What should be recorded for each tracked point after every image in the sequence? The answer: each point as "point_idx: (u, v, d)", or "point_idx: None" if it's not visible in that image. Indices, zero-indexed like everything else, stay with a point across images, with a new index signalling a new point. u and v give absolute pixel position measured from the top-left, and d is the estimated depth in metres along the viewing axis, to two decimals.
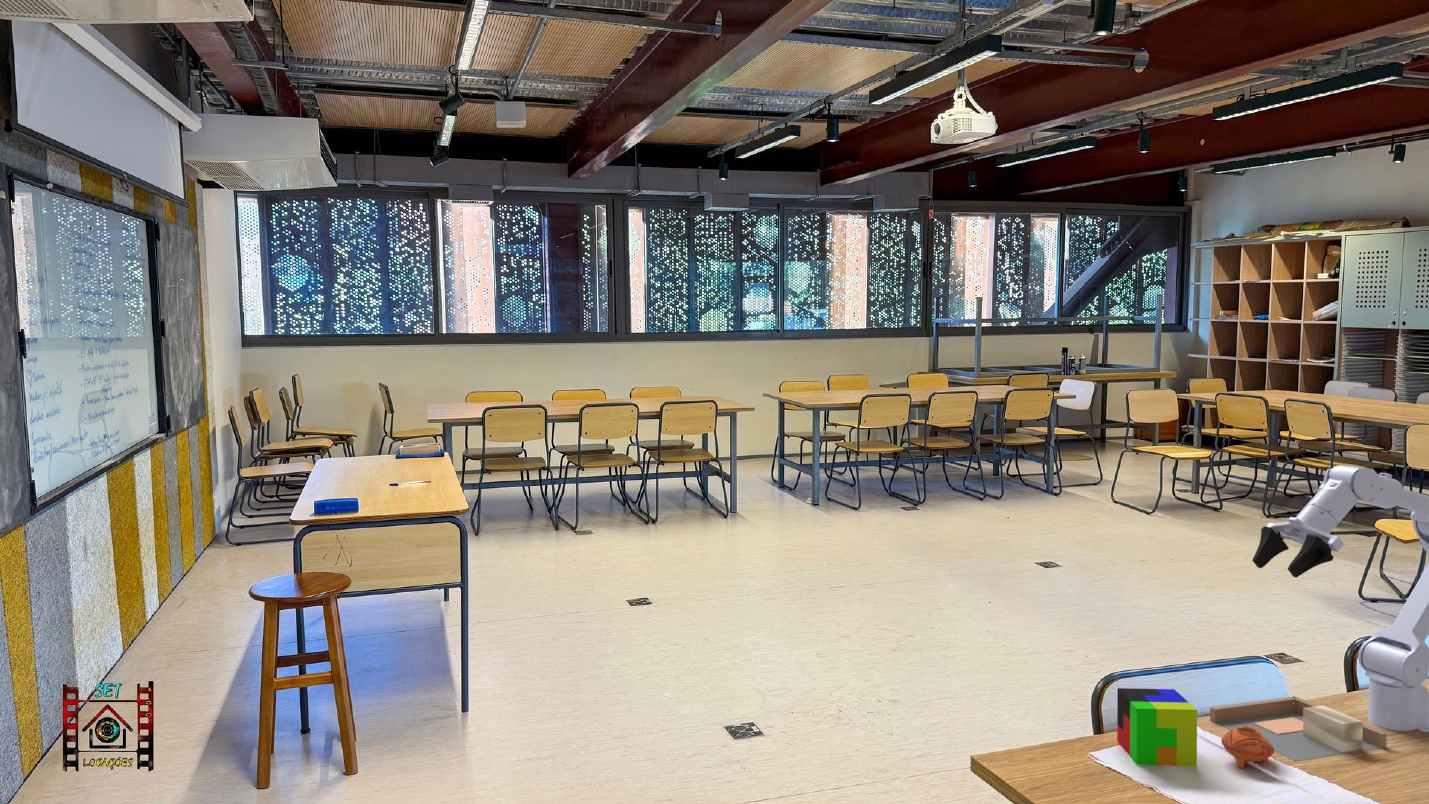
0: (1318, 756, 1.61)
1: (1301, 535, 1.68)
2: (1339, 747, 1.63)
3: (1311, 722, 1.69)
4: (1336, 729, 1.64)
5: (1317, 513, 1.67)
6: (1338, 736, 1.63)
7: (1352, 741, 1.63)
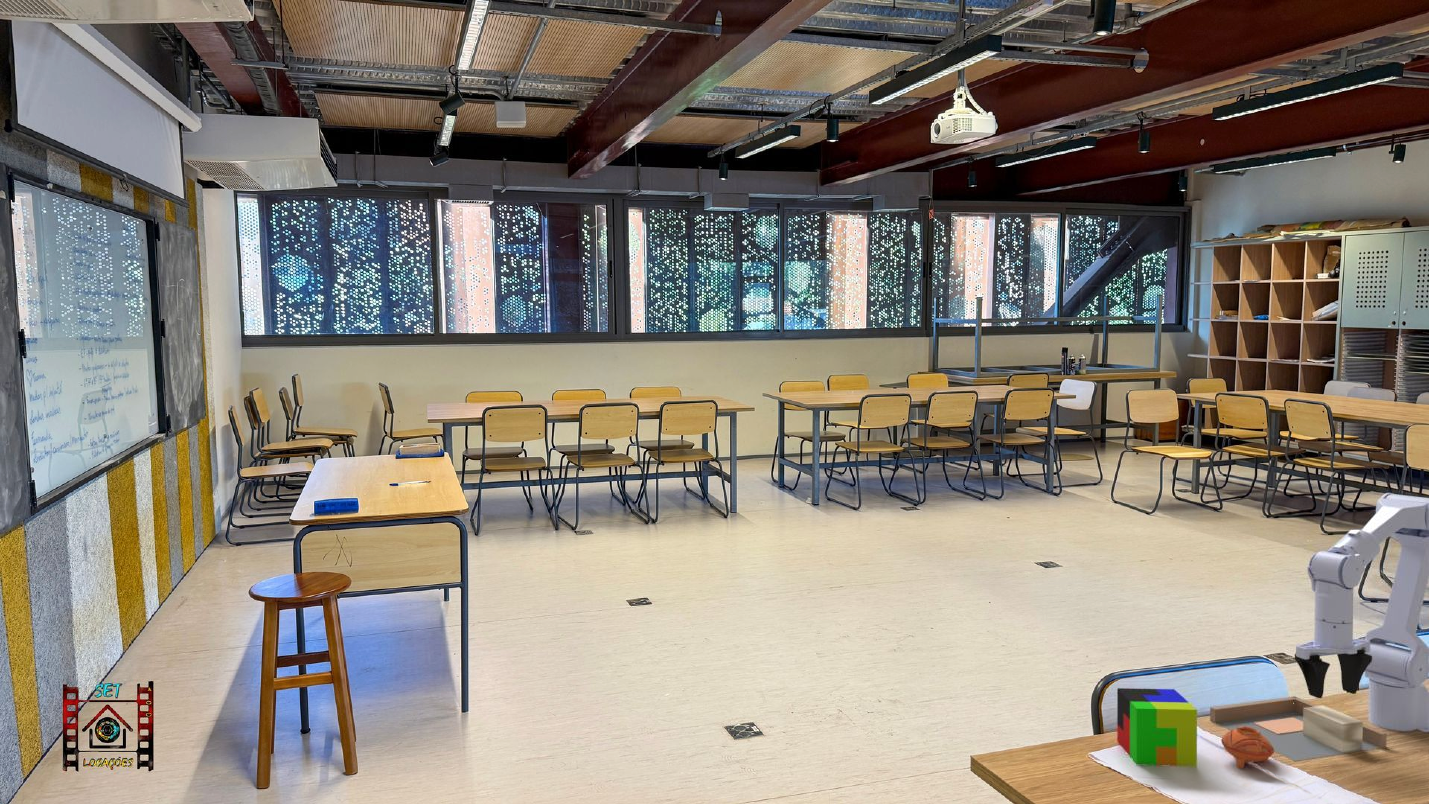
0: (1318, 756, 1.61)
1: None
2: (1339, 747, 1.63)
3: (1311, 722, 1.69)
4: (1336, 729, 1.64)
5: (1352, 629, 1.64)
6: (1338, 736, 1.63)
7: (1352, 741, 1.63)
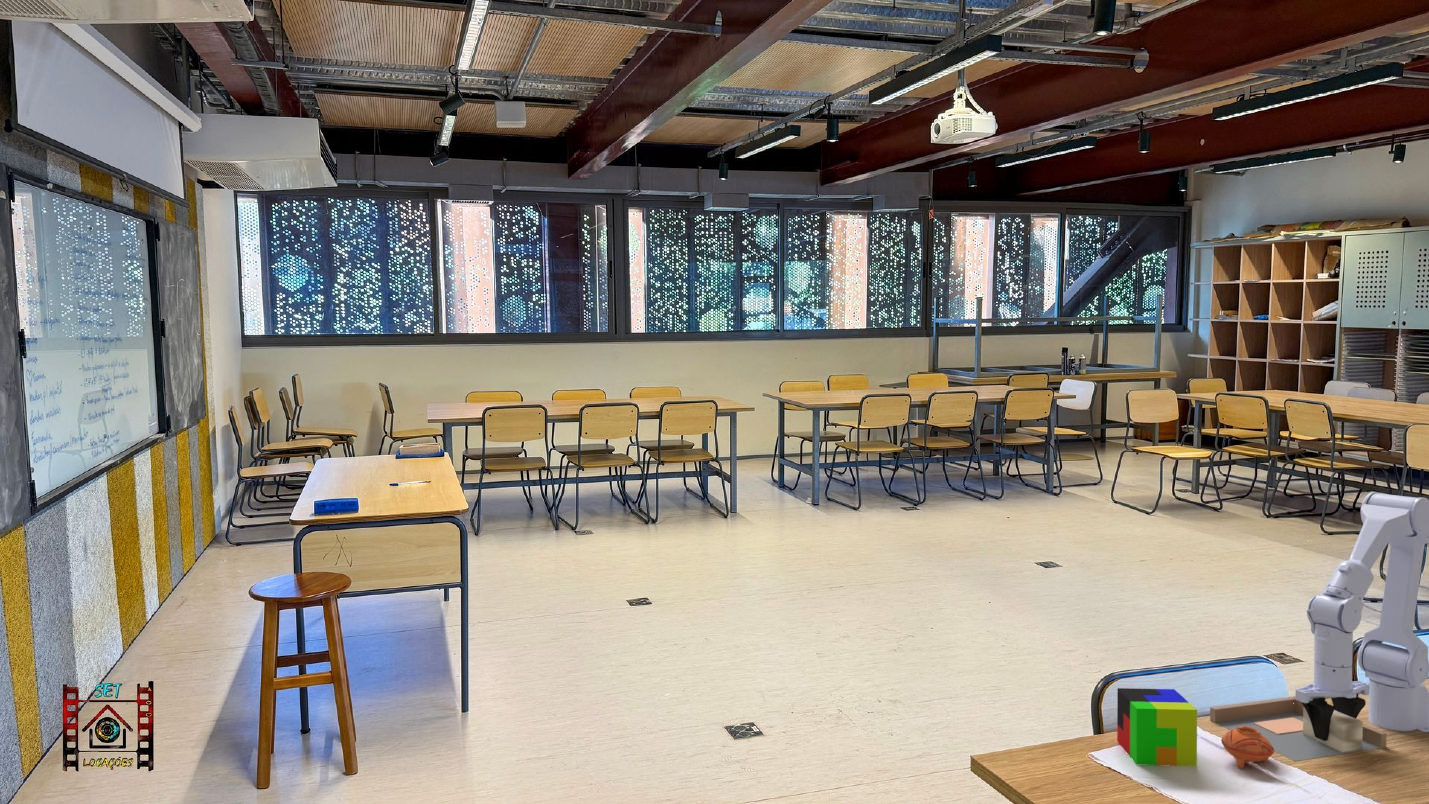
0: (1318, 756, 1.61)
1: None
2: (1339, 747, 1.63)
3: None
4: (1336, 729, 1.64)
5: None
6: (1338, 736, 1.63)
7: (1352, 741, 1.63)
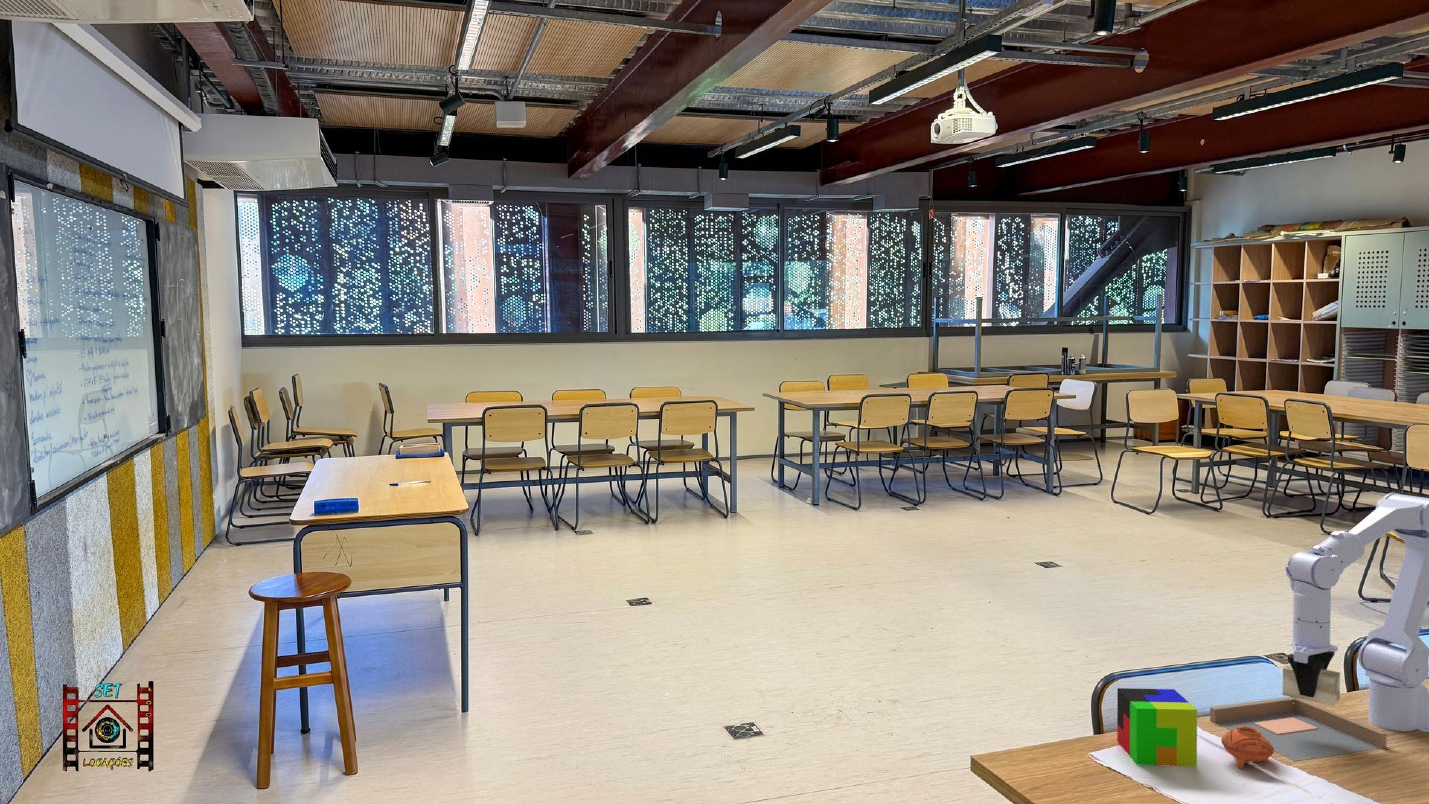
0: (1318, 756, 1.61)
1: None
2: (1329, 702, 1.66)
3: (1293, 681, 1.70)
4: (1326, 684, 1.66)
5: None
6: (1328, 691, 1.66)
7: (1336, 693, 1.67)
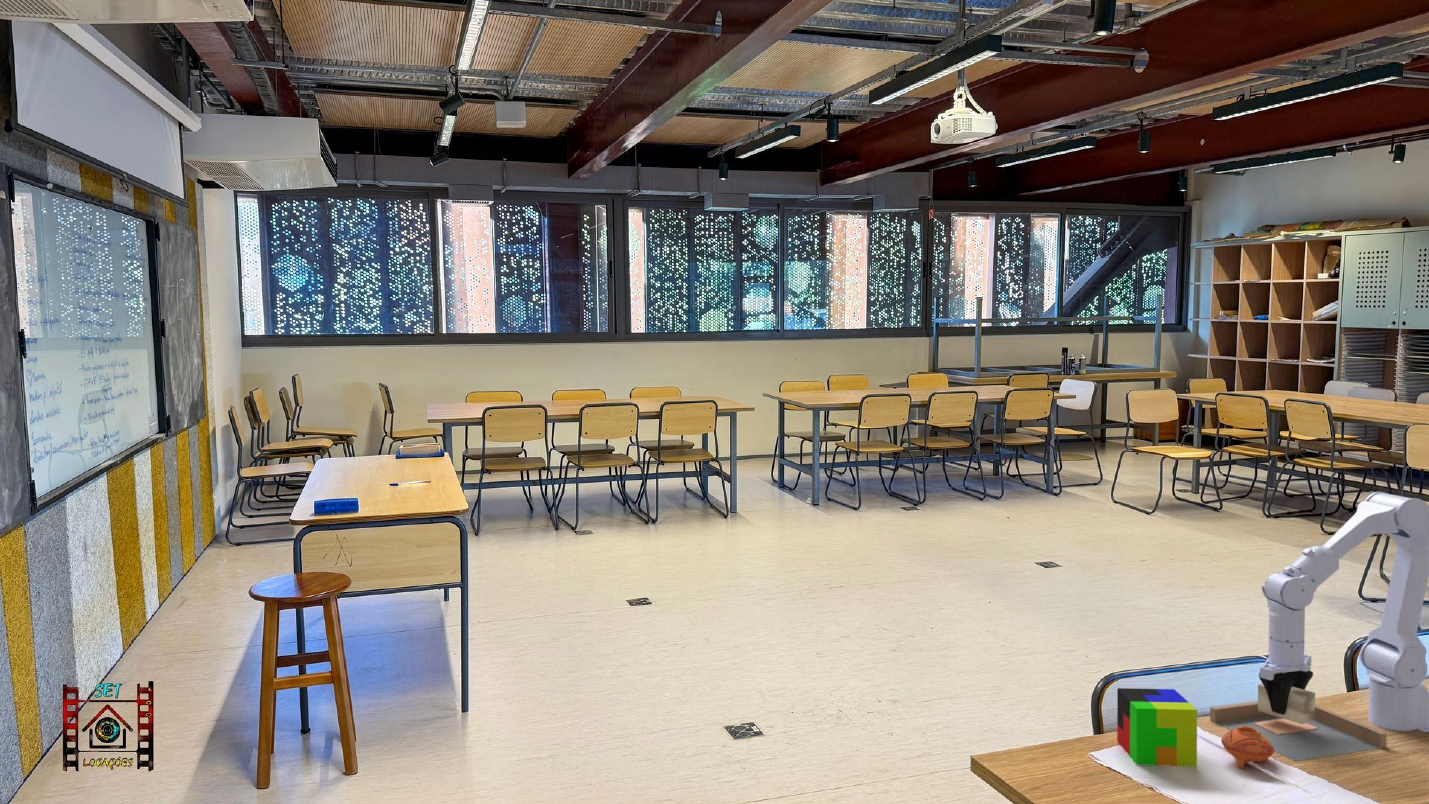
0: (1318, 756, 1.61)
1: None
2: (1298, 720, 1.70)
3: (1267, 698, 1.75)
4: (1296, 703, 1.70)
5: None
6: (1298, 709, 1.70)
7: (1308, 712, 1.71)
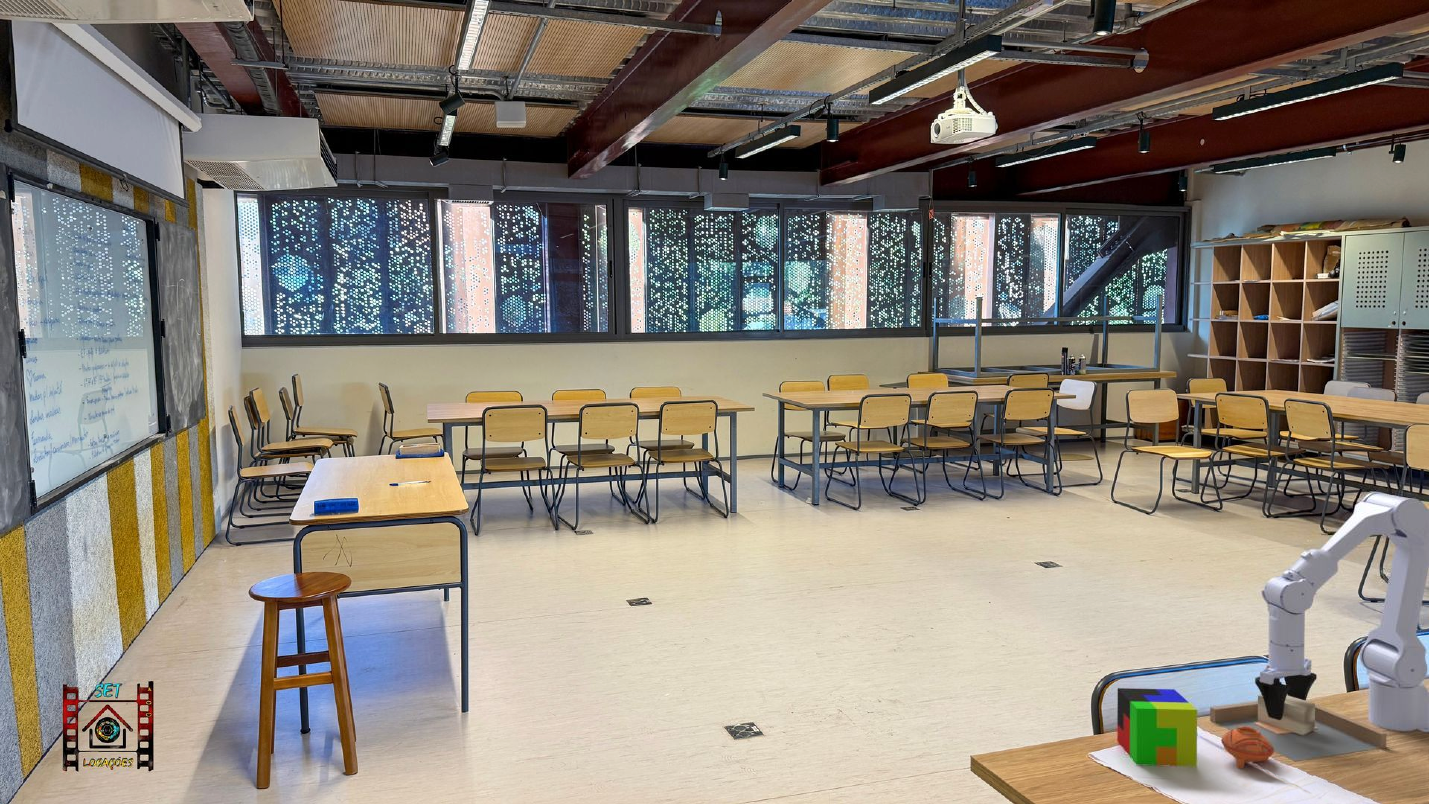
0: (1318, 756, 1.61)
1: None
2: (1299, 731, 1.70)
3: None
4: (1296, 714, 1.70)
5: None
6: (1298, 720, 1.70)
7: (1308, 723, 1.71)
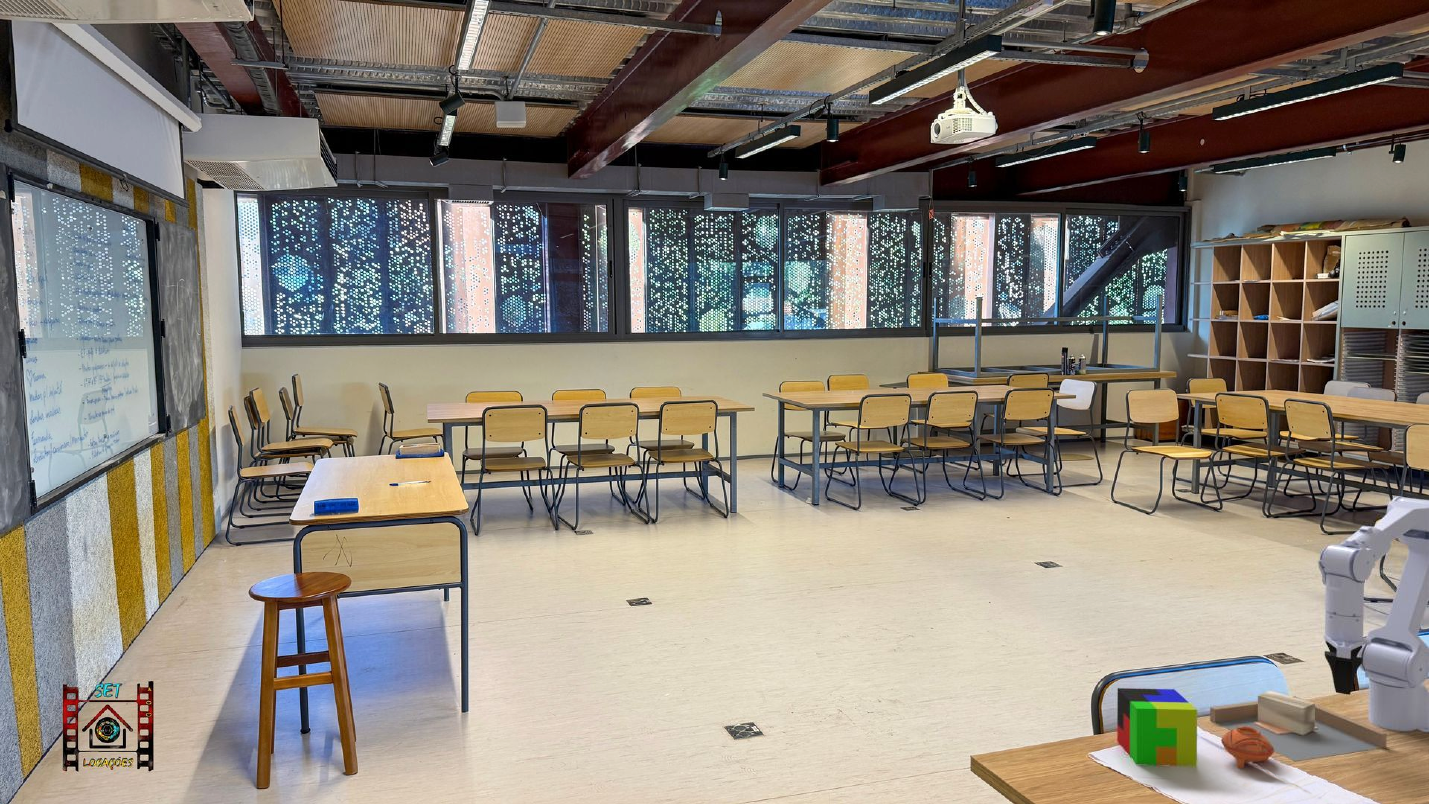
0: (1318, 756, 1.61)
1: None
2: (1299, 731, 1.70)
3: (1267, 708, 1.75)
4: (1296, 714, 1.70)
5: None
6: (1298, 720, 1.70)
7: (1308, 723, 1.71)
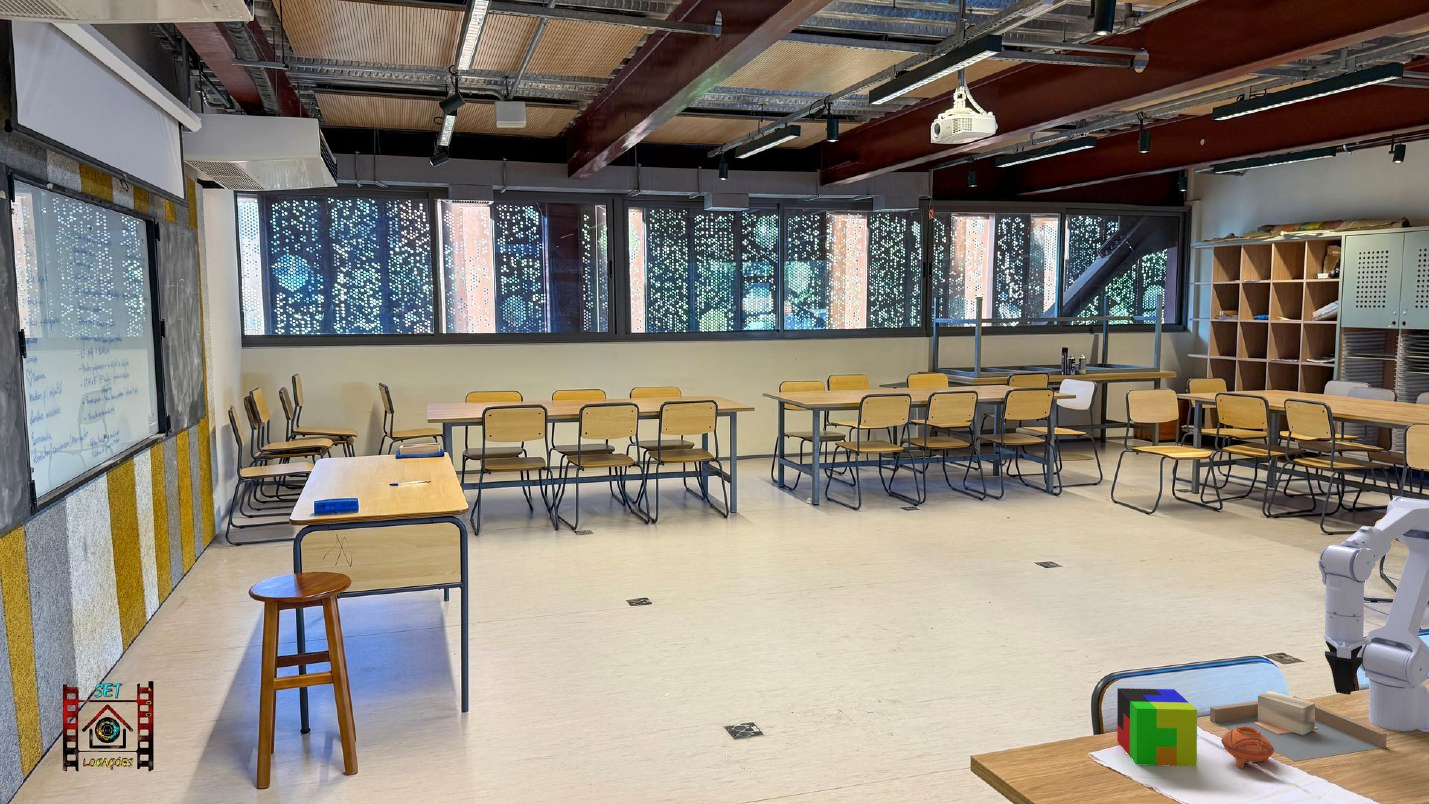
0: (1318, 756, 1.61)
1: None
2: (1299, 731, 1.70)
3: (1267, 708, 1.75)
4: (1296, 714, 1.70)
5: None
6: (1298, 720, 1.70)
7: (1308, 723, 1.71)
